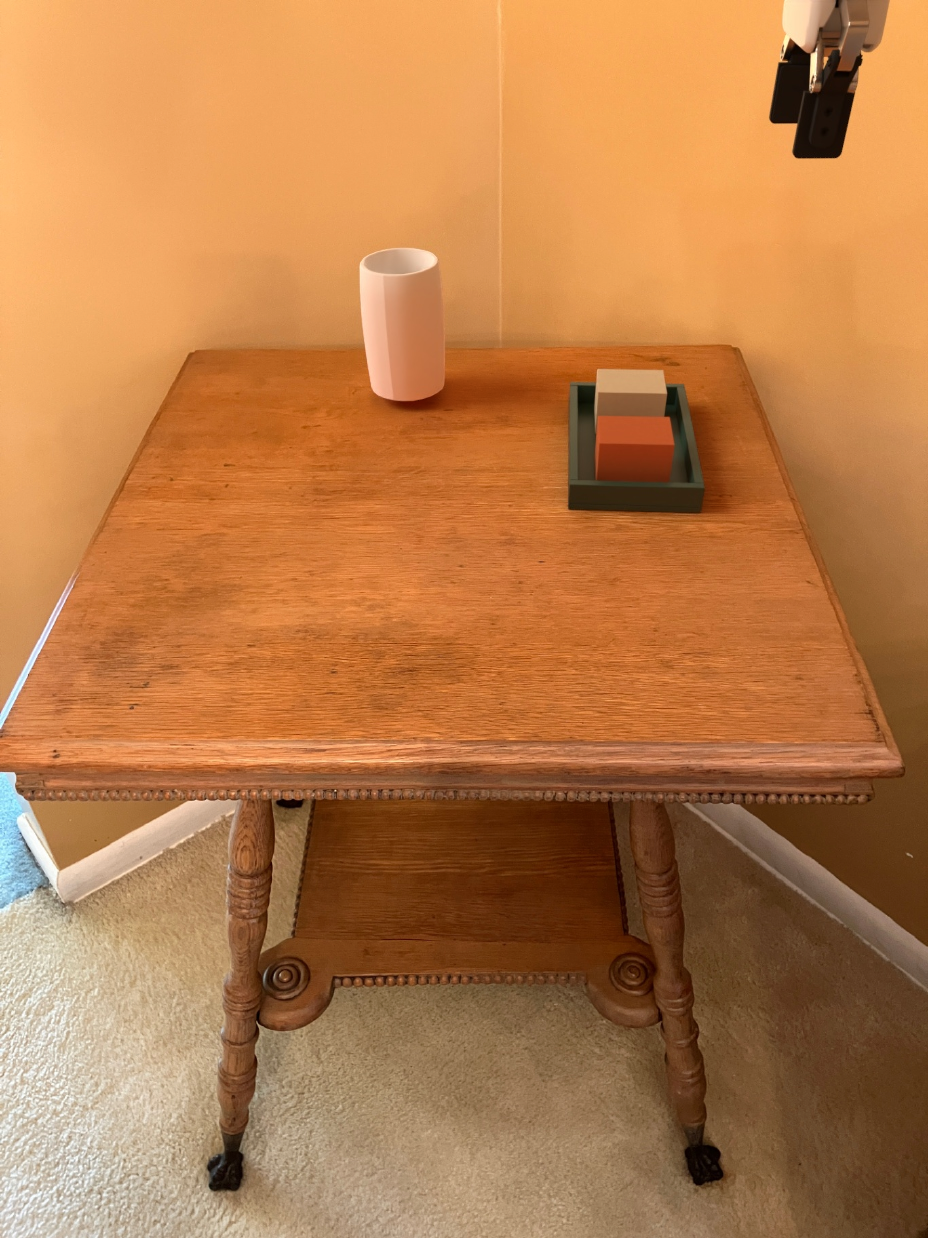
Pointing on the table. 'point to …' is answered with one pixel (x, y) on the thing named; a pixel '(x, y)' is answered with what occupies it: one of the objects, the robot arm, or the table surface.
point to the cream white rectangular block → (629, 393)
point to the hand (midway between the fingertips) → (802, 138)
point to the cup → (403, 323)
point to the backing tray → (627, 495)
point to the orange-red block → (633, 449)
